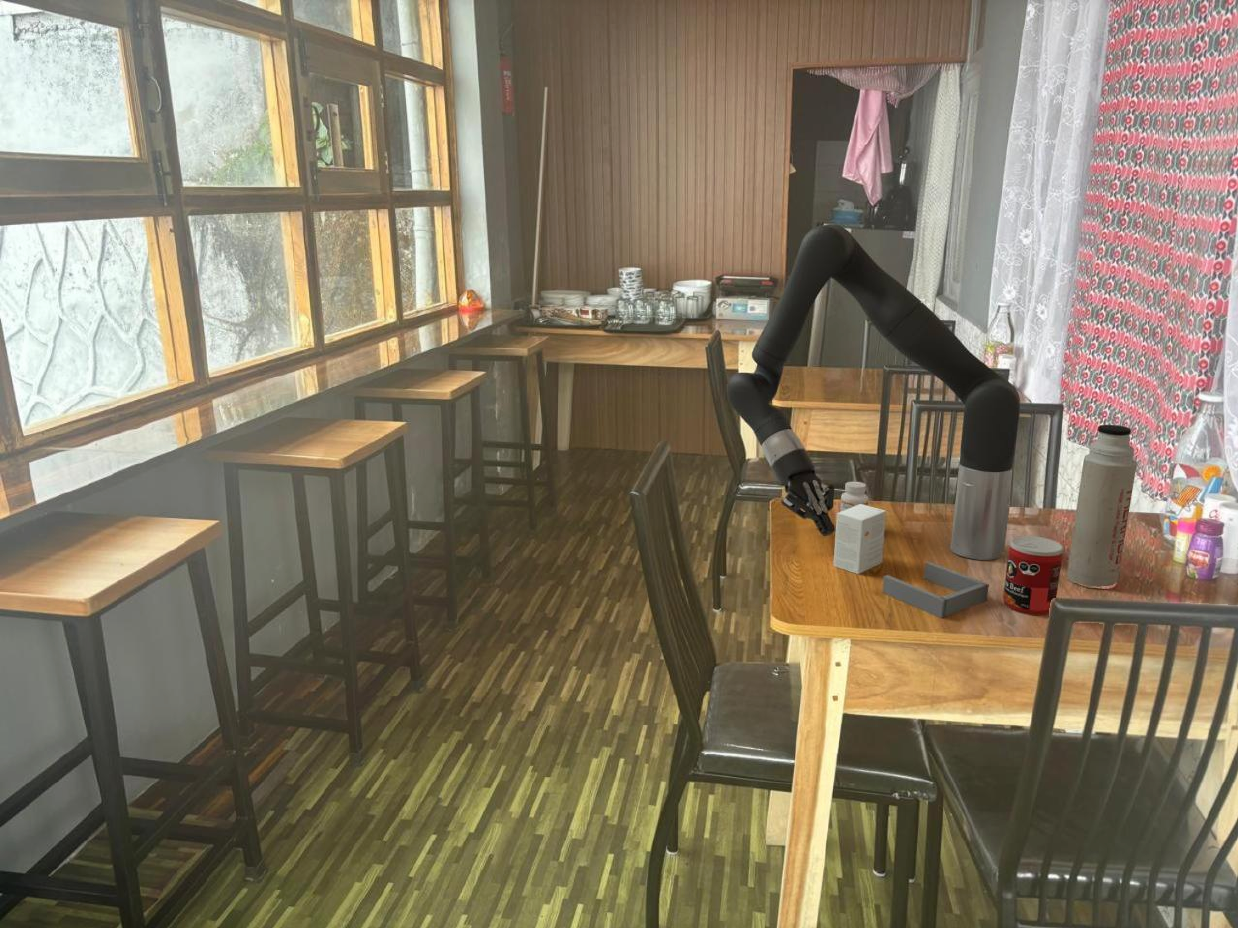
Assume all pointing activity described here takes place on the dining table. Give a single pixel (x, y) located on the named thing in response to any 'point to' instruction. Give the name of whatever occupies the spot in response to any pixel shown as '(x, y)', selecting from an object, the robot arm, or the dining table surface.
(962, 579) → the bay
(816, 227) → the robot arm
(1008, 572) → the canned food
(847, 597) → the dining table surface
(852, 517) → the small box
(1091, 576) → the thermos bottle
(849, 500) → the supplement bottle
